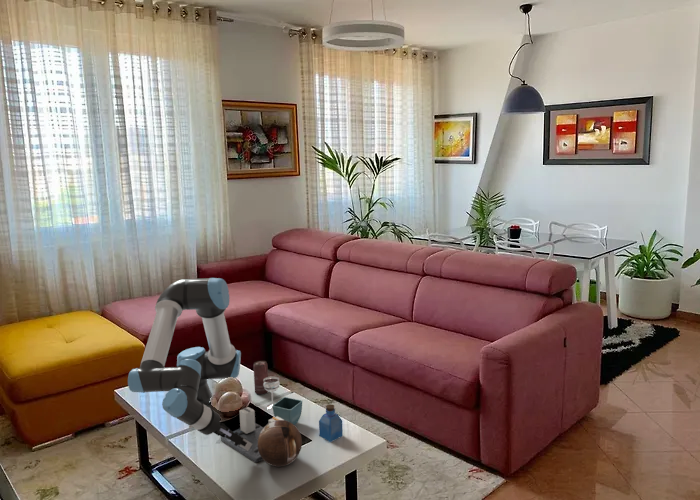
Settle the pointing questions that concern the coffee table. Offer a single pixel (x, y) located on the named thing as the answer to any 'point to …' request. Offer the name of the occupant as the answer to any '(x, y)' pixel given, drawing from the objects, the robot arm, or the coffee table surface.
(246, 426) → the block
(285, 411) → the flower pot
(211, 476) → the coffee table surface
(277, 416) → the front fader
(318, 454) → the coffee table surface
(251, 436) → the plate
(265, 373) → the can
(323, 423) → the perfume bottle
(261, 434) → the wooden sphere
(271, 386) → the wineglass
